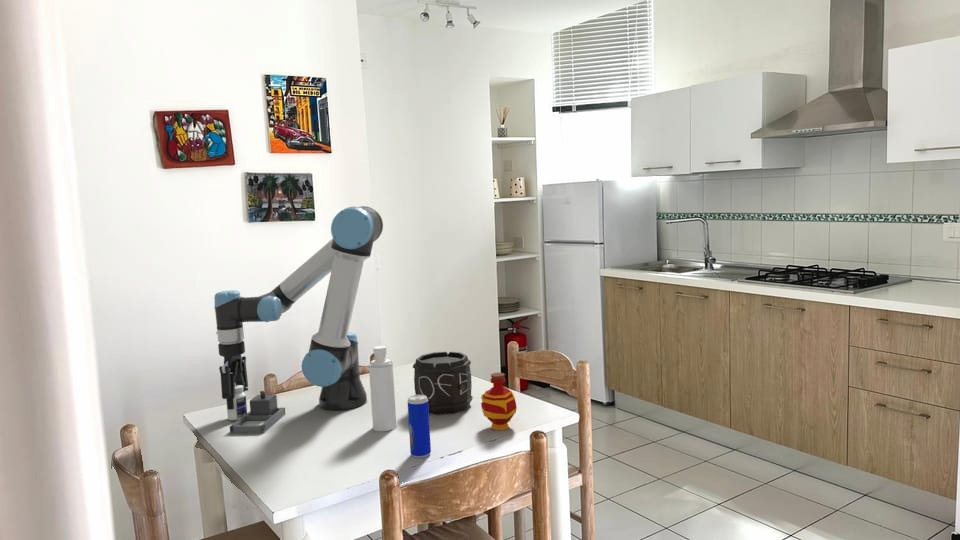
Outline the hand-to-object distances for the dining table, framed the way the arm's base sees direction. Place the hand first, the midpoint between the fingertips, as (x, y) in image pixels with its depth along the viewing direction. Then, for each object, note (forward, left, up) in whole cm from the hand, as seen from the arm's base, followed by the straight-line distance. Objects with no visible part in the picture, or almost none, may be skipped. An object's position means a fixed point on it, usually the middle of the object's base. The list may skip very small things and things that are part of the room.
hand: (237, 415), depth 211 cm
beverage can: (-63, +32, -1) cm, 70 cm away
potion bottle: (-82, +12, -1) cm, 82 cm away
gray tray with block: (-9, +6, -1) cm, 11 cm away
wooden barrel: (-64, -7, -1) cm, 64 cm away
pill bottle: (0, 0, -1) cm, 1 cm away
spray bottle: (-49, +11, -1) cm, 50 cm away
